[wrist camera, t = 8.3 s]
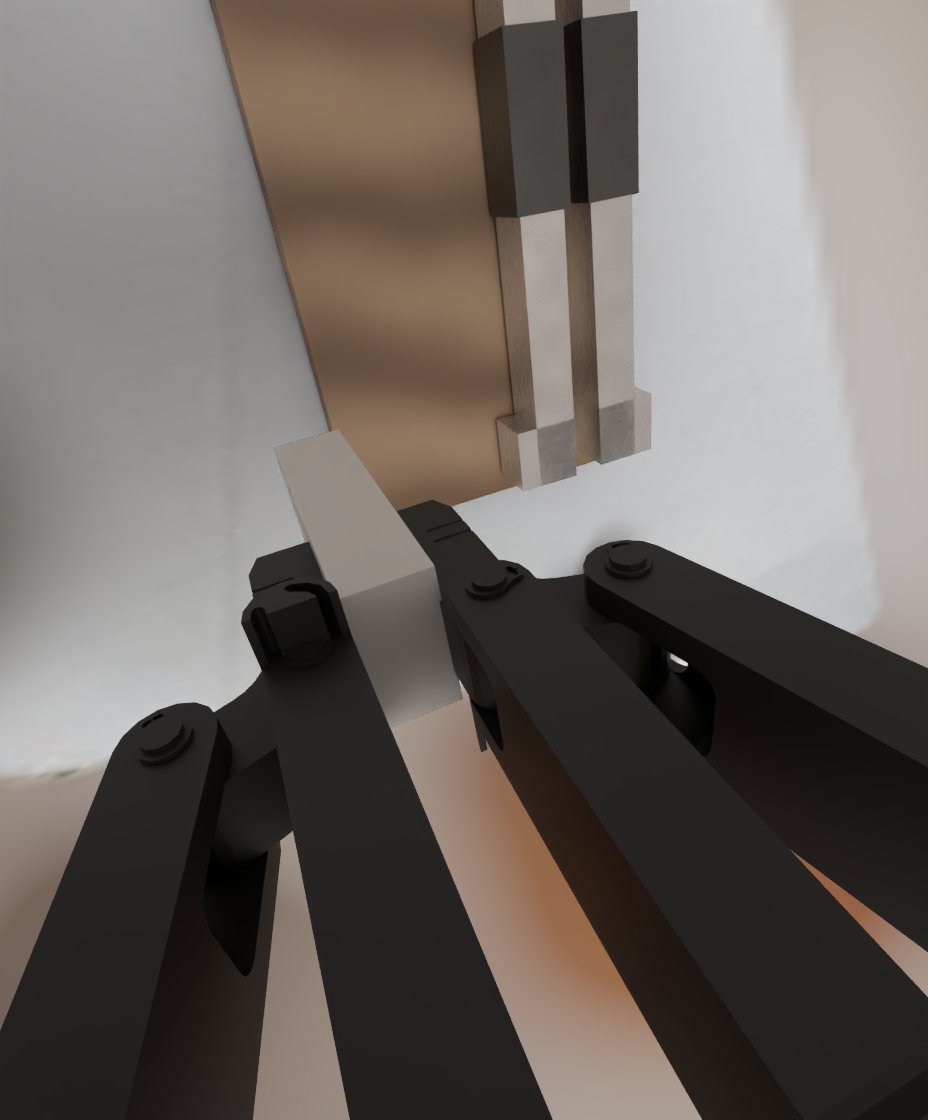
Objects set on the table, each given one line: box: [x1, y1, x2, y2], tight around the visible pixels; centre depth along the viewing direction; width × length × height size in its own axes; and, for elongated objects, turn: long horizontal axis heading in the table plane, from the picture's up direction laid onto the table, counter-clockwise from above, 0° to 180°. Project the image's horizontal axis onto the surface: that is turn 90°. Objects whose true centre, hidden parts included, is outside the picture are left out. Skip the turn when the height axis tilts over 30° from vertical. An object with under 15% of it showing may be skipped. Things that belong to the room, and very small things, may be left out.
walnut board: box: [210, 0, 595, 511], centre depth 28 cm, size 28×16×2 cm, turn 9°
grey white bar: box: [554, 0, 651, 465], centre depth 27 cm, size 26×6×3 cm, turn 9°
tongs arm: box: [473, 0, 576, 491], centre depth 27 cm, size 26×6×3 cm, turn 8°
